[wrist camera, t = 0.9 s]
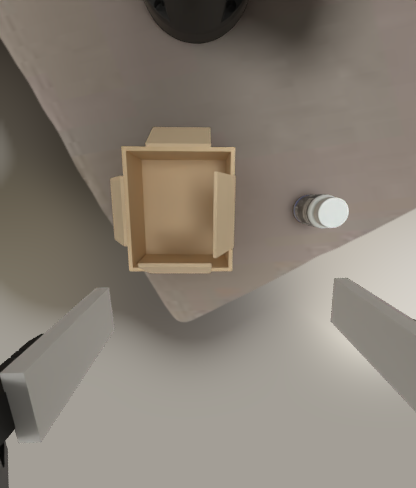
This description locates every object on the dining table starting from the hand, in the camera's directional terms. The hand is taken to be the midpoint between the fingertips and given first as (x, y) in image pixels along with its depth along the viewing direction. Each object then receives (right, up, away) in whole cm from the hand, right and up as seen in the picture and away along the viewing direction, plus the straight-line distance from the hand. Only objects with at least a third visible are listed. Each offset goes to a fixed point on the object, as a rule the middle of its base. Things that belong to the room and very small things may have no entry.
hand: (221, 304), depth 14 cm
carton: (-5, +9, +25) cm, 27 cm away
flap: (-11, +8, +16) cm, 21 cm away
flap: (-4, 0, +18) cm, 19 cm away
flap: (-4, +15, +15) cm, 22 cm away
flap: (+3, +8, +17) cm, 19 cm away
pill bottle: (+15, +9, +25) cm, 31 cm away
